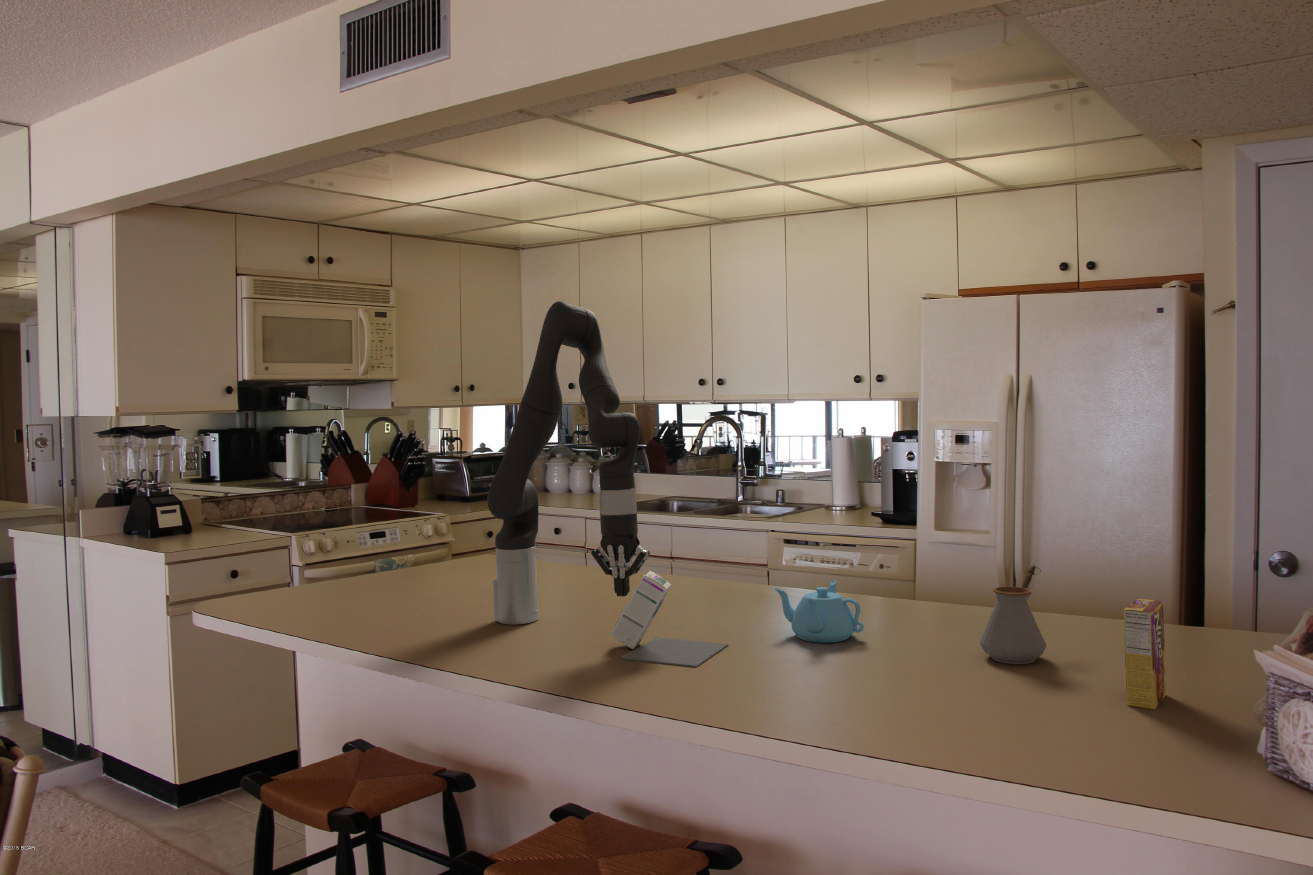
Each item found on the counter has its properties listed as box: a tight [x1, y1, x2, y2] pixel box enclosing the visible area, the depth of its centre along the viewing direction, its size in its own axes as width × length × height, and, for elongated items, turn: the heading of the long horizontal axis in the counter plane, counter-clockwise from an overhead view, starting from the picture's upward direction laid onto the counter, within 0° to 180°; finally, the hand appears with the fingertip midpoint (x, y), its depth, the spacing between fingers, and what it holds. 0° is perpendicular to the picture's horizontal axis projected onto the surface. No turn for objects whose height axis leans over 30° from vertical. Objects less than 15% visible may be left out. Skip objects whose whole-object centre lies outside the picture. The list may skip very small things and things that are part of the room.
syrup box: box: [610, 570, 673, 650], centre depth 183 cm, size 6×6×14 cm
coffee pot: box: [979, 564, 1047, 665], centre depth 171 cm, size 21×12×15 cm, turn 142°
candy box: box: [1123, 598, 1168, 710], centre depth 142 cm, size 9×4×15 cm, turn 140°
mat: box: [620, 636, 729, 668], centre depth 179 cm, size 16×16×1 cm
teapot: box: [773, 579, 865, 644], centre depth 186 cm, size 15×15×10 cm
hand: (622, 595), depth 183 cm, fingers closed
